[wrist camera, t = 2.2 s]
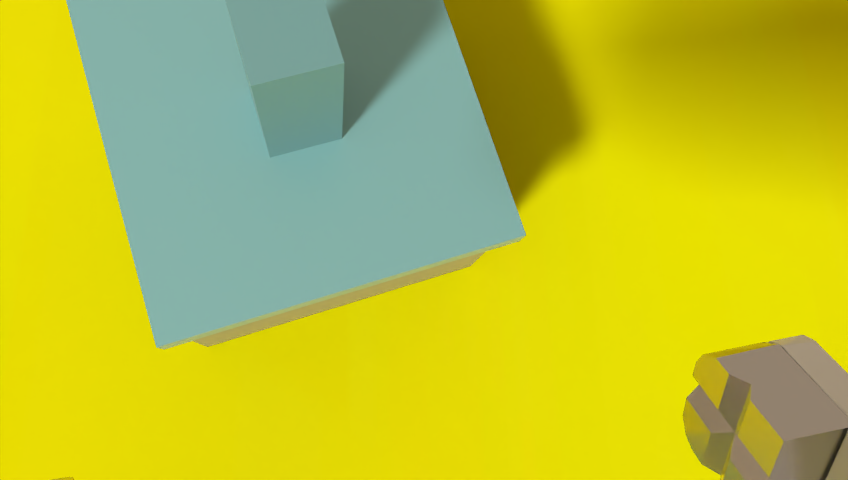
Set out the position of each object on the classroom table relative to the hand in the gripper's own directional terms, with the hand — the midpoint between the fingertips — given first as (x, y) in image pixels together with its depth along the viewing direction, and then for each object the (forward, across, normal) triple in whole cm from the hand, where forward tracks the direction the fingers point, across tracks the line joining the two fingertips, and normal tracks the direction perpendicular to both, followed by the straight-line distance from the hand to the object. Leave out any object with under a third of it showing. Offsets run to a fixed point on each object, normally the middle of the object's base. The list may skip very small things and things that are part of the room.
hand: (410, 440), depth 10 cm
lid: (+23, 0, +6) cm, 23 cm away
